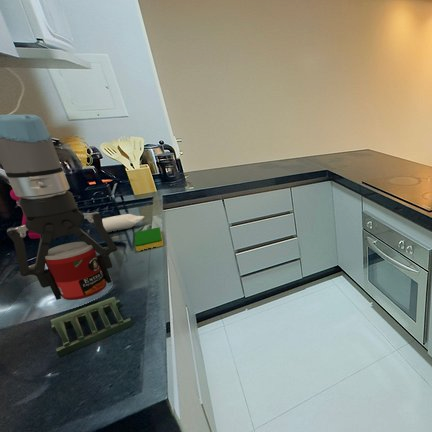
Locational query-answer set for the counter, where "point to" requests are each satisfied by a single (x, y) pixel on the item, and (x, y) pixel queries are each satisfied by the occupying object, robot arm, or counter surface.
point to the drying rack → (96, 335)
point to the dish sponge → (148, 239)
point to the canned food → (75, 270)
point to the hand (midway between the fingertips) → (84, 288)
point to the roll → (120, 222)
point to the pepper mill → (31, 233)
